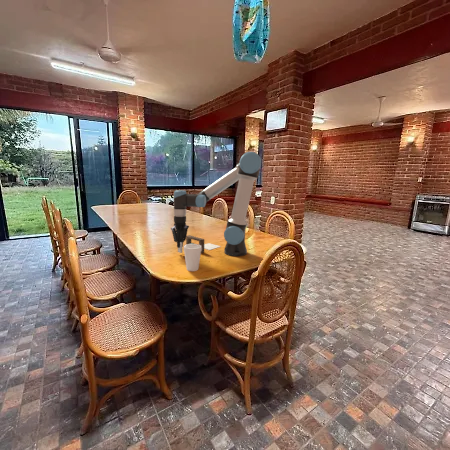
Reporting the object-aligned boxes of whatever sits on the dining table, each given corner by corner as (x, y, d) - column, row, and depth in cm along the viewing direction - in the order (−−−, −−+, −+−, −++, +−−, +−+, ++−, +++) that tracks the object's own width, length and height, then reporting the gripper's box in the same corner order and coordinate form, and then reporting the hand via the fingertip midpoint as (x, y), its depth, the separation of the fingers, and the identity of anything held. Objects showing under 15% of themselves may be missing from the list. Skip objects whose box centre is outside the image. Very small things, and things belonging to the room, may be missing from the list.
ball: (198, 243, 163) (192, 245, 159) (198, 250, 165) (192, 253, 161) (192, 241, 166) (186, 243, 162) (192, 248, 168) (186, 251, 164)
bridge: (189, 247, 171) (189, 235, 169) (204, 252, 162) (204, 239, 160) (186, 248, 169) (186, 235, 167) (200, 253, 160) (201, 240, 158)
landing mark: (220, 246, 177) (220, 246, 177) (209, 250, 168) (209, 249, 168) (208, 243, 184) (208, 243, 184) (197, 246, 175) (197, 246, 175)
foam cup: (180, 270, 131) (180, 247, 128) (188, 264, 139) (189, 242, 137) (196, 273, 128) (196, 249, 125) (204, 267, 136) (204, 245, 133)
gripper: (184, 213, 158) (184, 248, 163) (167, 215, 148) (168, 253, 153) (192, 215, 153) (191, 251, 158) (175, 217, 143) (175, 255, 148)
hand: (180, 252), depth 155 cm, fingers closed
